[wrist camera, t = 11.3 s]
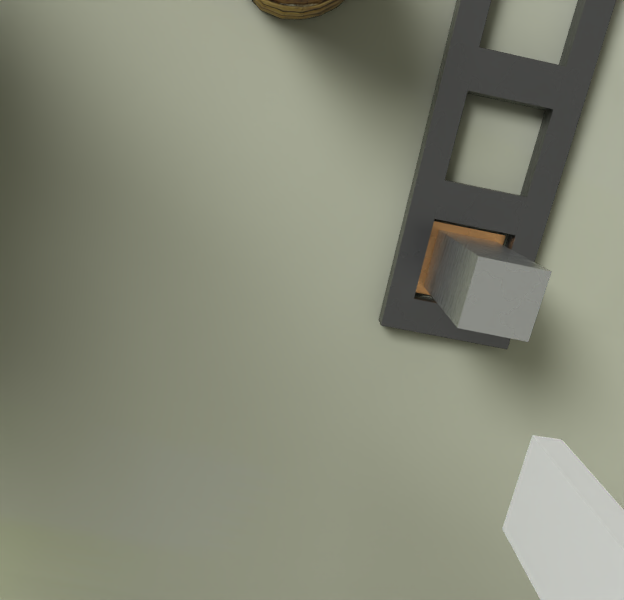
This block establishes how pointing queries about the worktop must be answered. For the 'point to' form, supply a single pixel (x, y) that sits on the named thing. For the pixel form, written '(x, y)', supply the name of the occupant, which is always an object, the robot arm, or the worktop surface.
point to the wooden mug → (297, 7)
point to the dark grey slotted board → (475, 200)
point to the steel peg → (485, 285)
